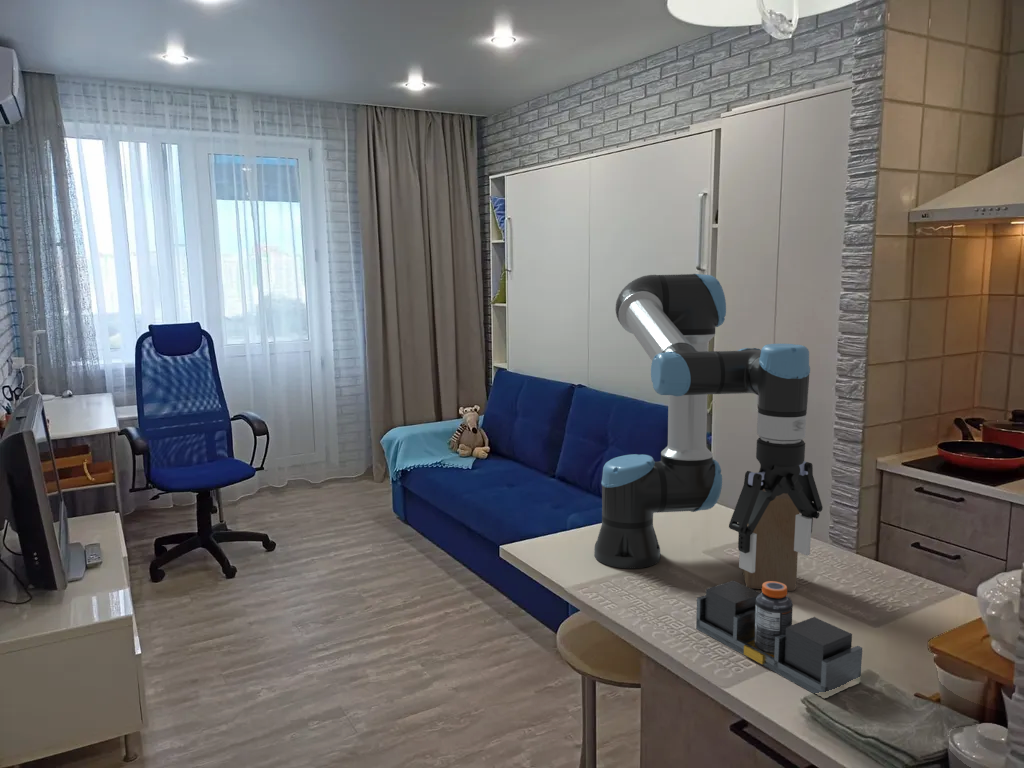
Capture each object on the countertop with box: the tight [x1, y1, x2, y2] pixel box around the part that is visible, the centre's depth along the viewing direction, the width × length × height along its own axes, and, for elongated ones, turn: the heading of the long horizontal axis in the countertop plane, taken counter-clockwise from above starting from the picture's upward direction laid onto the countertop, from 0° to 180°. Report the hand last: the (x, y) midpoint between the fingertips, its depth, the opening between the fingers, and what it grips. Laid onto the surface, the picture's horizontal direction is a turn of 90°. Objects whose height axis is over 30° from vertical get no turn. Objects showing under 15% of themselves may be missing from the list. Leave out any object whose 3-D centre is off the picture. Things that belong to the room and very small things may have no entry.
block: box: [741, 489, 801, 592], centre depth 155 cm, size 10×10×20 cm
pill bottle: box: [755, 581, 794, 655], centre depth 126 cm, size 6×6×11 cm
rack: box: [695, 580, 863, 694], centre depth 126 cm, size 27×9×8 cm, turn 31°
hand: (775, 561), depth 125 cm, fingers open, 13 cm apart
